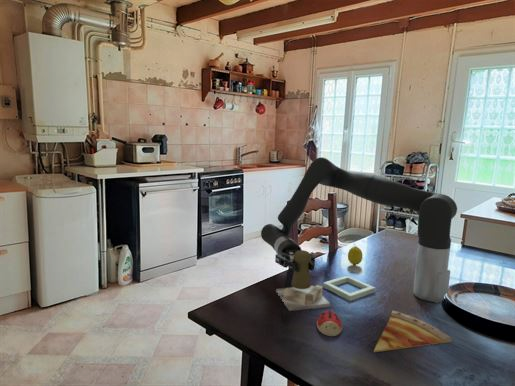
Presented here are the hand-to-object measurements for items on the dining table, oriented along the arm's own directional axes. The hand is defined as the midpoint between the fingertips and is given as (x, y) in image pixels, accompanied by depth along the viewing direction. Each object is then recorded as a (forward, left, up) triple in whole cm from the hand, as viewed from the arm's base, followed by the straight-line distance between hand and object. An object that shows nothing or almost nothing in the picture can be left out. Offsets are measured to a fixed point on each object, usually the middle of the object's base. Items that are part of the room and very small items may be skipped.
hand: (305, 268), depth 110 cm
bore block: (-1, -19, -11) cm, 22 cm away
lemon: (+13, -38, -11) cm, 41 cm away
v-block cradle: (+2, -1, -11) cm, 11 cm away
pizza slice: (-25, -10, -12) cm, 30 cm away
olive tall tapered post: (+3, -1, -7) cm, 7 cm away
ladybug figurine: (-15, +4, -11) cm, 19 cm away
